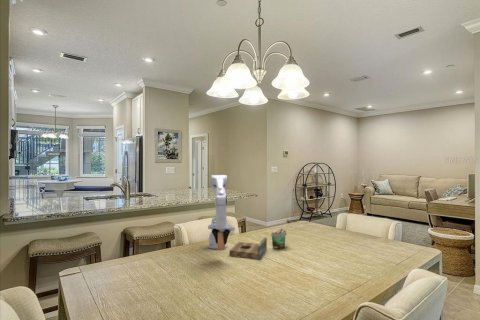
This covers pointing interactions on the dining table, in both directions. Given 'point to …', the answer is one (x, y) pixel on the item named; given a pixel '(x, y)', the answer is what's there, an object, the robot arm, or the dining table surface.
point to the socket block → (249, 249)
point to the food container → (279, 239)
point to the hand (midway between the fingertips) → (221, 243)
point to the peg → (221, 240)
